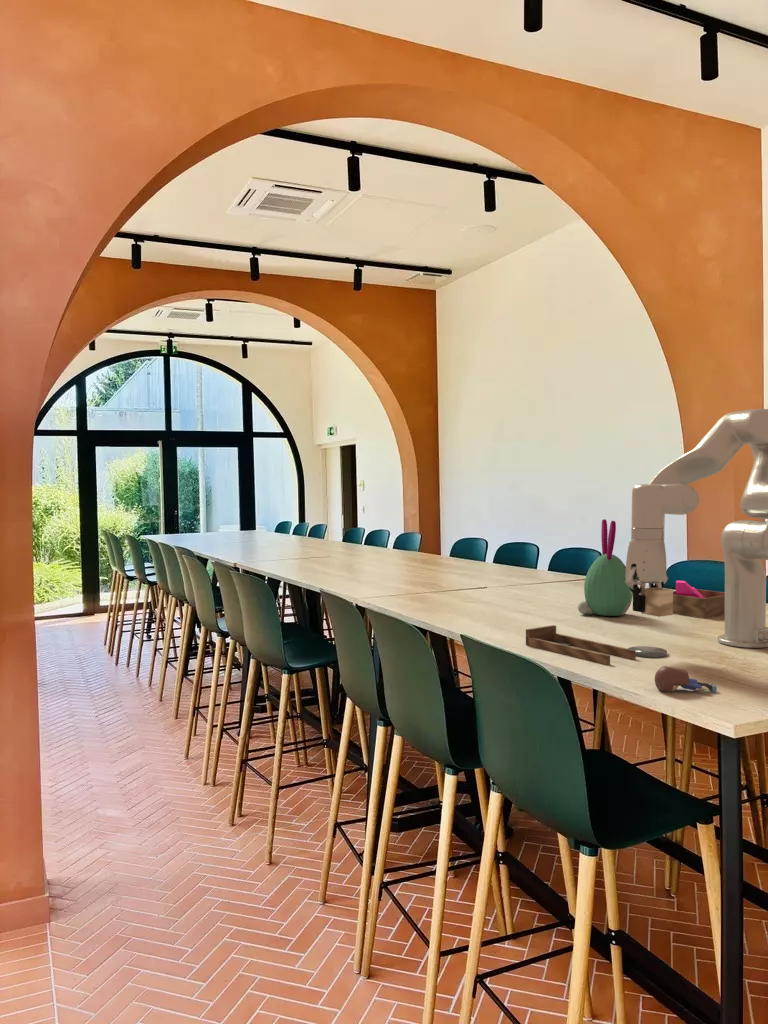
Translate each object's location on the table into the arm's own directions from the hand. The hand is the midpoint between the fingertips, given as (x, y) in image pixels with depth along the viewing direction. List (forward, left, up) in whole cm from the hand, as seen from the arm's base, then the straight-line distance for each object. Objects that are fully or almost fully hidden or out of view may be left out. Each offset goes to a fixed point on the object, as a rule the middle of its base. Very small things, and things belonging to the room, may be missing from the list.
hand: (646, 609), depth 179 cm
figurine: (-25, +21, -11) cm, 35 cm away
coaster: (0, 0, -11) cm, 11 cm away
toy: (+42, -35, -11) cm, 56 cm away
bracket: (+29, -64, -11) cm, 71 cm away
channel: (+11, +12, -11) cm, 19 cm away
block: (-3, 0, -1) cm, 3 cm away
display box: (+28, -63, -11) cm, 70 cm away
